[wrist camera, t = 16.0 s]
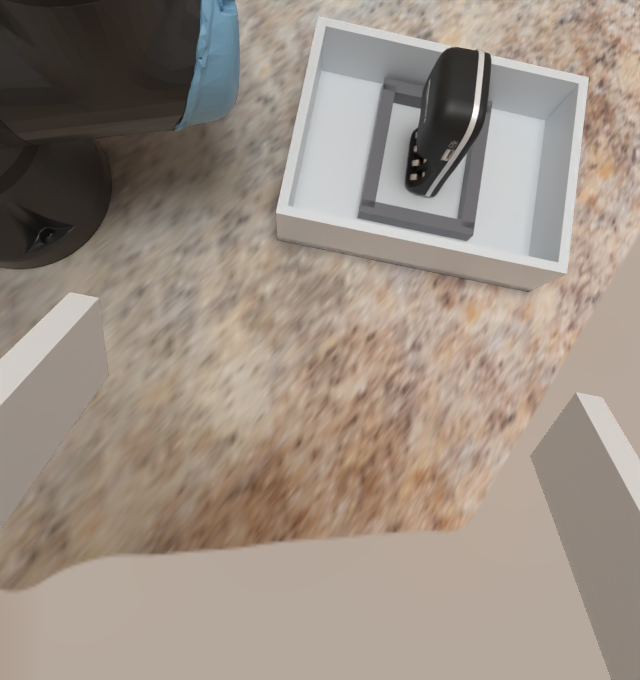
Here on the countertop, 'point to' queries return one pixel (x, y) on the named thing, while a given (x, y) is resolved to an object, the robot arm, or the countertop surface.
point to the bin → (462, 185)
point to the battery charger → (448, 118)
